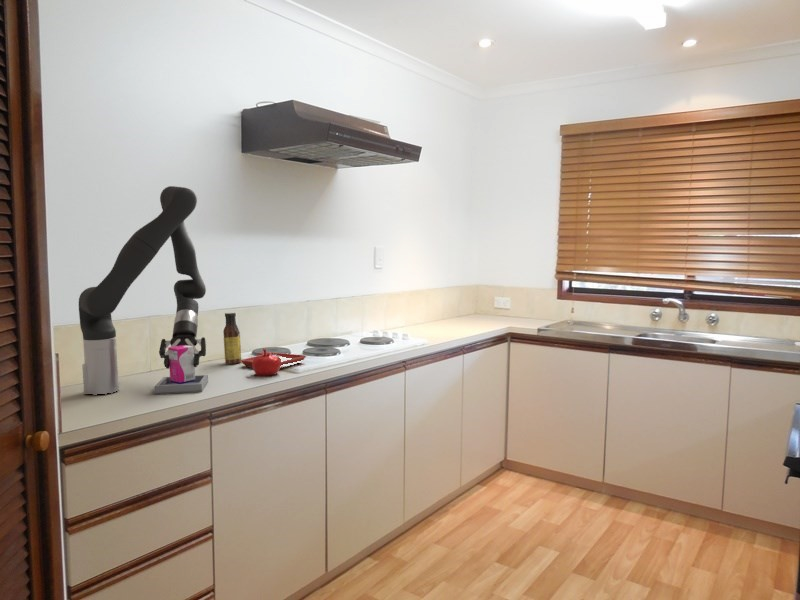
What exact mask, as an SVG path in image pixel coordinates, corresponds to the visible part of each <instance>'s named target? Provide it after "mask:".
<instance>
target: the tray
mask: <svg viewBox="0 0 800 600" xmlns="http://www.w3.org/2000/svg"><path fill="white" fill-rule="evenodd" d="M208 383H209V375H208V374H195V381H193V382H188V383H184V384H177V383H173V382H170V376H163V377H162V378H161V379H160V380H159V381H158V382H157V383H156V384H155V385H154V387H153V388H154V395H166V394H165V393H171V394H185V393H202V392H203V391H204V389H206V386H207V385H208Z"/></svg>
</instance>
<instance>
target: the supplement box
mask: <svg viewBox="0 0 800 600" xmlns="http://www.w3.org/2000/svg"><path fill="white" fill-rule="evenodd" d="M167 349H168V350H167V351H168V353H169V377H170V382H173V383H177V384H184V383H188V382H193V381H195V375H196V370H195V369H196V367H194V365H193V362H194V350H193V346H187V345H180V346H174V347H171V346H168V347H167Z"/></svg>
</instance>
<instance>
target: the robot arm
mask: <svg viewBox="0 0 800 600" xmlns="http://www.w3.org/2000/svg"><path fill="white" fill-rule="evenodd" d="M159 196H160V197H159V201H160V206H161V209H162V211H161V213H159V215H158V216H157V217H154V219H152V220H151V221H150V222H147V223H146V224H145V225H143V226H142V227H141V228H139V229H138V230H136V231H135V232H134V233H133V234H132V236H131V237H130V238H129V239H128V240H127V242H125V244H124V245H123V246H122V248H121V249H120V251H119V253H118V255H117V258H116V260H115V262H114V263H113V266H112V268H111V270H110V272H108V274H107V275H106V276H105V277H104V279H102V281H100V283H99V284H98V285H97V286H90V287H88V288H87V287H86V288H85V289H84V290H83V291H82V292H81V293H80V295H79V298H78V313H79V314H78V315H79V316H78V317H79V326H80V330H81V334H82V342H83V357H84V363H83V364H82V381H83V382H82V383H83V395H84V394H93V395H92V396H98V395H97V394H105V395H108V394H107V393H111V394H114V393H113V392H115V393H117V392H119V391H118V390H120V383H119V369H118V368H119V367H118V349H117V346H118V345H117V334H116V333H117V332H116V330H117V329H116V328H115V326H114V323H113V320H112V318H113V317H112V314H113V312H115V310H116V309H117V307H118V306H119V304H120V303H121V301H122V299H123V297H124V296H125V294H126V293H127V291H128V290H129V288H130V287H131V285H133V283H134V282H135V280H137V279H138V277H139V276H140V275H141V274H142V273H143V272H144V270H145V269H146V267H148V266H149V265H150V263H151V262H152V261H153V259H155V257H156V255H157V254H158V253H159V251H160V250H161V248H162V247H163V246H164V245H165V243H166V242H167V241H168V240H169V239H170V240H171V245H172V248H173V255H174V263H175V268H176V272H177V274H180V275H185V276H188V277H190V278H191V279H180V280H177V281H176V282H175V283H174V285H173V291H174V296H175V299H176V300H175V301H176V311H175V312H176V313H175V316H174V320H173V330H172V336H171V339H170V340H166V339H165V338H162V339H161V340H160V341H161V342H160V346H159V351H158V354H159V357H160V358H161V359H164V360H163V365H164V368H165V369H168V370H170V367H169V353H168V350H167V349H168V348H169V346H170V347H174V346H180V345H187V346H193V350H194V362H193V365H194V367H195V368H197V366H199V365H200V364H199V363H200V358H201V357H206V355H207V353H206V351H207V340H206V338H205V337H201V338H200V339H199V338H198V339H197V336H198V333H197V332H198V328H199V325H198V323H199V319H198V316H199V303H198V301H197V299H198V300H199V299H202V298H204V296H205V295H206V292H207V288H206V285H205V282H204V279H203V278H202V276H201V274H200V271H199V267H198V262H197V256H196V255H197V254H196V249H195V246H194V243H193V240H192V238H191V236H190V235H189V232H188V230H187V226H186V224H185V221H186V220H187V218H188V217H190V215H191V214H192V213H193V212H194V210H195V208H196V206H197V203H198V198H197V195H196V192H195V191H194V190H193V189H190V188H187V187H182V186H175V185H174V186H173V185H172V186H170V185H169V186H166V187H165V188H163V190H162V191H161V193H160V195H159ZM197 345H199V346H200V350H198V349H197V348H196V346H197ZM116 391H117V392H116Z"/></svg>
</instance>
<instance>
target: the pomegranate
mask: <svg viewBox="0 0 800 600" xmlns="http://www.w3.org/2000/svg"><path fill="white" fill-rule="evenodd" d="M262 351H263V352H260V353H256V354H255V355H256V356H257V357H256V356H254V357H255V358H254V360H253V362H252V367H251V368H252V370H253V371H254V373H255V375H256V376H259V377H265V376H273V375H274V376H275V375H276V374H277V373H278V372H279V371H280V370H281V369H280V366H281V359H280V358H279V357H278V356H276V355H272V354H273V353H275V354H276V353H277V352H271V351H268V352H267V349H266V348H263V349H262Z"/></svg>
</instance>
